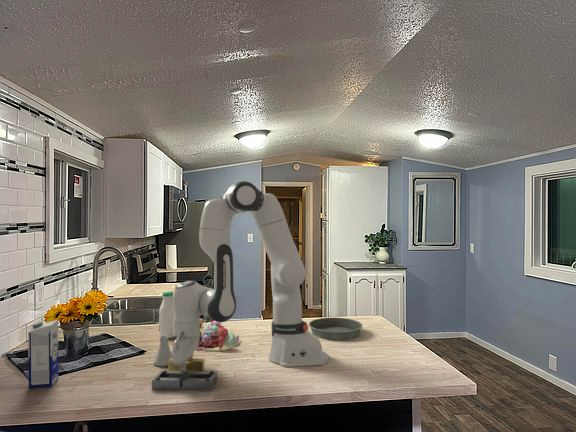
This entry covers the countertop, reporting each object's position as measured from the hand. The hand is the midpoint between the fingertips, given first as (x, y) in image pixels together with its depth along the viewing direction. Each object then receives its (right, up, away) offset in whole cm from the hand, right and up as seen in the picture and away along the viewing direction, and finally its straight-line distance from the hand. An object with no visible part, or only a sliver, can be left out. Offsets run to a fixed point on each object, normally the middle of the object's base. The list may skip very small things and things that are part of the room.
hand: (186, 368), depth 150 cm
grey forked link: (+7, -2, -10) cm, 13 cm away
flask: (-11, -2, +10) cm, 14 cm away
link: (-3, -2, -10) cm, 10 cm away
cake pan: (+57, -1, +49) cm, 75 cm away
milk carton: (-45, -2, -9) cm, 45 cm away
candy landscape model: (+2, -2, +36) cm, 36 cm away
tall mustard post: (0, -2, 0) cm, 2 cm away
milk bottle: (-19, -1, +44) cm, 48 cm away
